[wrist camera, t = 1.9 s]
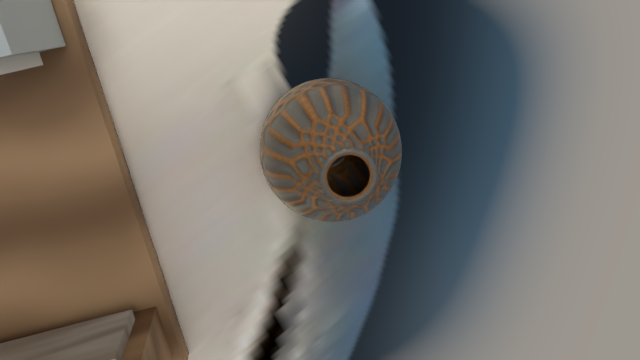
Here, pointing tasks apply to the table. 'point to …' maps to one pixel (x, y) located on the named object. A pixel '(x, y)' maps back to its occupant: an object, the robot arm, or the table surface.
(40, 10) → the jaw
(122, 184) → the vise base
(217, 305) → the table surface
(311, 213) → the vase
